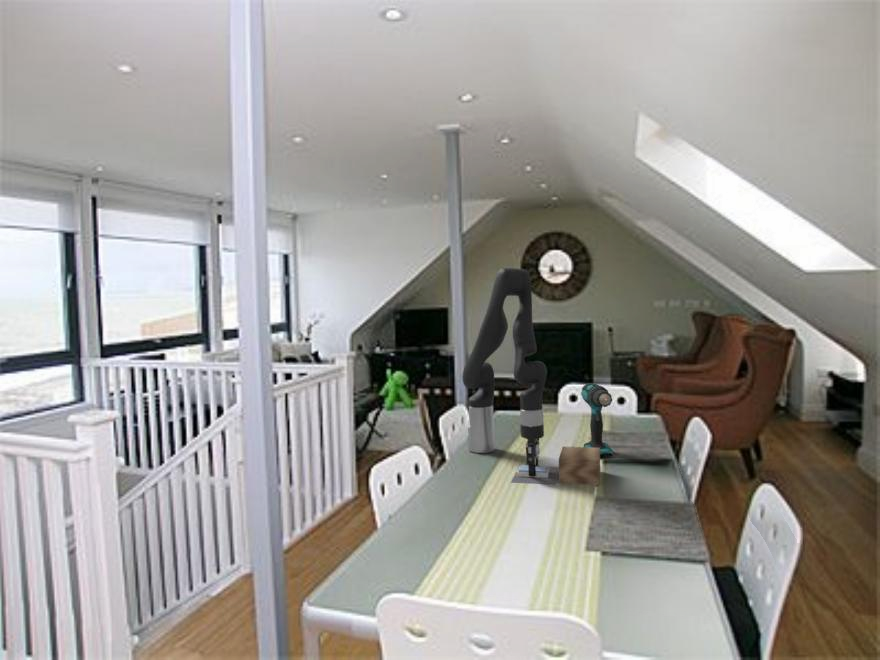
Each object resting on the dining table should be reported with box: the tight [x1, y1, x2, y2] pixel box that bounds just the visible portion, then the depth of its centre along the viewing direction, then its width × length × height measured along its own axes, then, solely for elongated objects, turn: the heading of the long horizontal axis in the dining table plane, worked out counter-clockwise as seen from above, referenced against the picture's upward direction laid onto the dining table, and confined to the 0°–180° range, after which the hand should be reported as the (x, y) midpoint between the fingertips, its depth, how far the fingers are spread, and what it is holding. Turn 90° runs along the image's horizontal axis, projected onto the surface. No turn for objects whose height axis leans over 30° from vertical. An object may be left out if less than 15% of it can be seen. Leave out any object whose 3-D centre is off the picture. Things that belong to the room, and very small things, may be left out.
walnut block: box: [558, 446, 601, 487], centre depth 199 cm, size 12×14×8 cm
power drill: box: [580, 382, 613, 455], centre depth 223 cm, size 26×9×25 cm, turn 179°
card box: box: [516, 464, 550, 478], centre depth 203 cm, size 10×6×2 cm, turn 74°
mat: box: [510, 464, 559, 486], centre depth 203 cm, size 14×18×1 cm
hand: (533, 472), depth 203 cm, fingers closed on card box, 6 cm apart
